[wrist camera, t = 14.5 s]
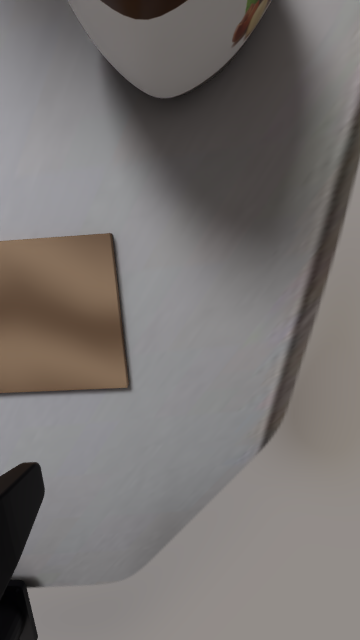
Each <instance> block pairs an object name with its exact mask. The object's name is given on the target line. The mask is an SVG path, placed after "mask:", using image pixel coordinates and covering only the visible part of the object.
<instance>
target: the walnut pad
mask: <svg viewBox="0 0 360 640" xmlns="http://www.w3.org/2000/svg"><path fill="white" fill-rule="evenodd" d="M128 385H129V381H128V372H127V363H126V354H125V345H124V336H123V327H122V318H121V309H120V300H119V291H118V282H117V273H116V265H115V256H114V247H113V238H112V234H111V233H107V234H93V235H79V236H65V237H51V238H37V239H23V240H9V241H0V393H12V392H36V391H59V390H83V389H107V388H127V387H128Z"/></svg>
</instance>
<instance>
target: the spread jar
mask: <svg viewBox="0 0 360 640" xmlns="http://www.w3.org/2000/svg"><path fill="white" fill-rule="evenodd" d="M67 1H68V3H69V4H70V6H71V8H72V10H73V12H74V14H75V15H76V17H77V19H78V20H79V22H80V23H81V25H82V26H83V28H84V29H85V31H86V33H87V34H88V36H89V37H90V39H91V40H92V42H93V43H94V44H95V46H96V47H97V48H98V50H99V51H100V52H101V53H102V55H103V56H104V57H105V58H106V59H107V60H108V62H109V63H110V64H111V65H112V66H113V67H114V68H115V69H116V70H117V71H118V72H119V73H120V74H121V75H122V76H123V77H124V78H126V79H127V80H128V81H129V82H130V83H132V84H133V85H134V86H135V87H137V88H138V89H140V90H141V91H143V92H145V93H147V94H148V95H151V96H154V97H157V98H172V97H178V96H181V95H184V94H186V93H189V92H191V91H193V90H195V89H196V88H198V87H200V86H202V85H203V84H205V83H206V82H208V81H209V80H211V79H212V78H213V77H215V76H216V75H217V74H218V73H219V72H221V71H222V70H223V69H224V68H225V67H226V66H227V65H228V64H229V63H230V62H231V60H232V59H233V58H234V57H235V56H236V55H237V53H238V52H239V51H240V49H241V48H242V47H243V46H244V44H245V43H246V41H247V40H248V38H249V37H250V35H251V34H252V32H253V31H254V29H255V27H256V26H257V24H258V23H259V21H260V19H261V18H262V16H263V14H264V13H265V11H266V10H267V8H268V6H269V5H270V3H271V1H272V0H67Z"/></svg>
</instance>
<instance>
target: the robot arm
mask: <svg viewBox="0 0 360 640" xmlns="http://www.w3.org/2000/svg"><path fill="white" fill-rule="evenodd" d="M44 492H45V488H44V482H43V477H42V472H41V467H40V465H39V464H38V463H37V462H28V463H21V464H20V465H18V466H16V467H15V468H13V469H11V470H10V471H8V472H6V473H5V474H3V475H2V476H0V640H37V638H38V635H37V631H36V626H35V622H34V618H33V614H32V610H31V605H30V601H29V597H28V592H27V588H26V584H25V583H24V582H23V581H21V580H10V579H11V577H12V575H13V573H14V570H15V568H16V566H17V564H18V562H19V559H20V557H21V554H22V552H23V549H24V547H25V544H26V542H27V539H28V537H29V534H30V531H31V529H32V526H33V524H34V521H35V519H36V516H37V513H38V511H39V508H40V506H41V503H42V501H43V498H44Z"/></svg>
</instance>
